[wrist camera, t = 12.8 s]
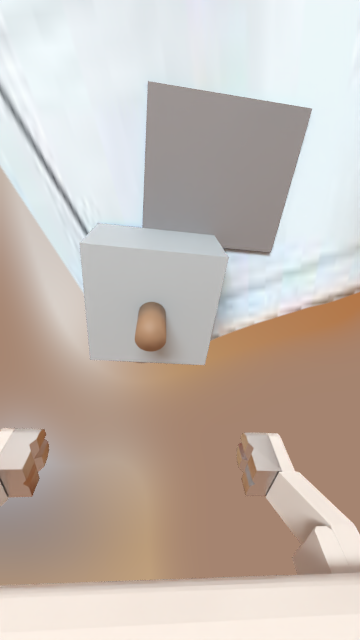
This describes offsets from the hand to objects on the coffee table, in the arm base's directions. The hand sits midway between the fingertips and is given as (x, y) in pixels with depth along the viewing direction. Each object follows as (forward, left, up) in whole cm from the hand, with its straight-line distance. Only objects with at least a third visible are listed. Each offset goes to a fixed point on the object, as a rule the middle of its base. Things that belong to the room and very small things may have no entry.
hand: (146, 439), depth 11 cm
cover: (0, +5, -29) cm, 29 cm away
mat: (-7, -9, -29) cm, 31 cm away
